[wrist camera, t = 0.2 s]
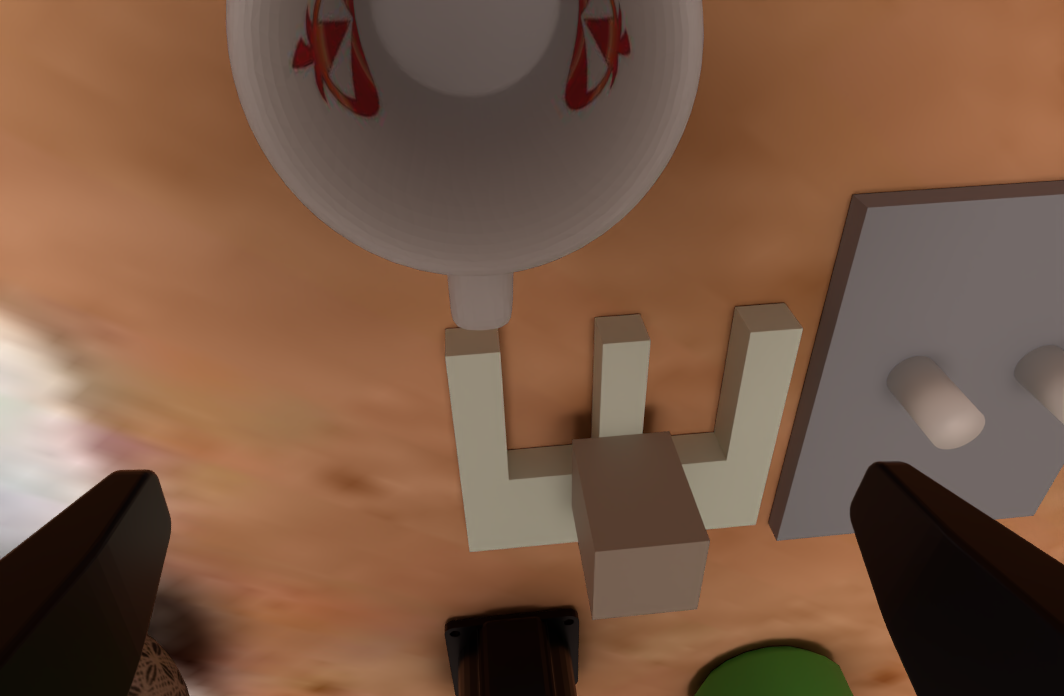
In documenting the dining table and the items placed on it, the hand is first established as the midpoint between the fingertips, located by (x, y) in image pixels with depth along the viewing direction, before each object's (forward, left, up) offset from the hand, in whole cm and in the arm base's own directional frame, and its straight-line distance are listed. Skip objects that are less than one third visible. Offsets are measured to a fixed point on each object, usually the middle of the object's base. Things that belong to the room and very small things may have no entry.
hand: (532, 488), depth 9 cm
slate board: (-11, -18, -14) cm, 25 cm away
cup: (+2, 0, -14) cm, 14 cm away
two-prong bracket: (-12, -4, -14) cm, 19 cm away
